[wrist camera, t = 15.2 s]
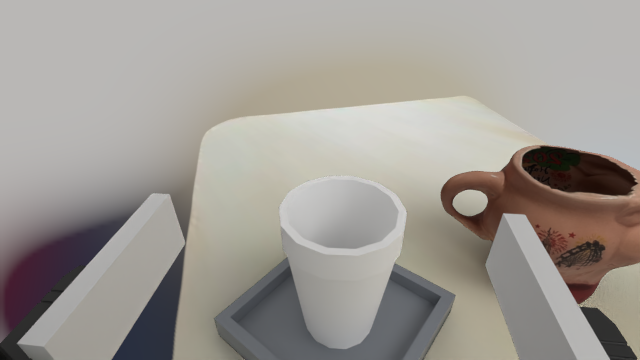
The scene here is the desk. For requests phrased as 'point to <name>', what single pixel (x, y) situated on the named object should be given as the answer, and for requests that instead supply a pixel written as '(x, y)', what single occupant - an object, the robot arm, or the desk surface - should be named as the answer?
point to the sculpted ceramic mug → (562, 209)
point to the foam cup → (341, 253)
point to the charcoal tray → (311, 356)
